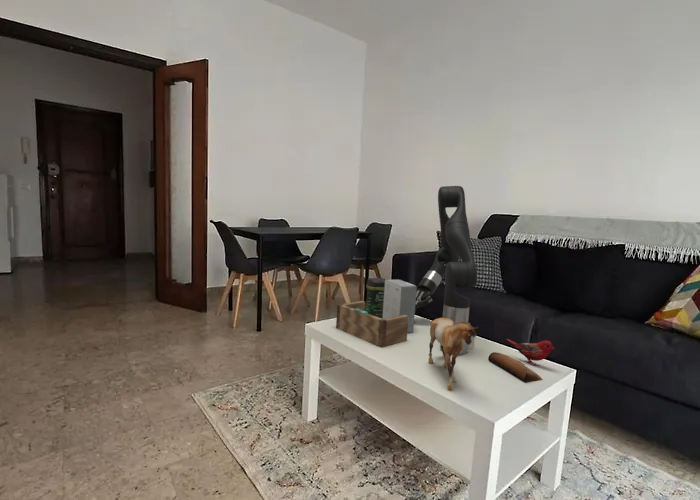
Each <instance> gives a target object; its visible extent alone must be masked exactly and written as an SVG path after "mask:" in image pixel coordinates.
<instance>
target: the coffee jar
mask: <svg viewBox="0 0 700 500" xmlns="http://www.w3.org/2000/svg"><path fill="white" fill-rule="evenodd" d="M385 280H387V279H386V278H385V277H384V278H383V277H369V278H367V280H366V285H365V286H366V287H365V288H366V291H367V292H366V301H365V311H366V312H368V314H370V315H373V316H376V317H379V318H381V319H382V317H383V301H384V287H385Z"/></svg>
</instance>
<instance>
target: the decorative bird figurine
mask: <svg viewBox="0 0 700 500" xmlns="http://www.w3.org/2000/svg"><path fill="white" fill-rule="evenodd" d="M505 340H506V341H507V342H508V343H510V344H511V345H513V347H515V348H516V349H517V351H518V352H519V354H521V355H522V356H524V357H525V358H526V361H525V362H526V363H528V364H531V365H533V366H538V367H540V364H537V363H536V362H535V361H537V362H538V361H543V360H544V359H546V358H547V357H548V355H549V354H550V353H551V351H552V350H555V347H554V346H553V343H552V341H550V340H541V341H539V342H535V343H534V342H533V343H532V342H523V343H517V342H515V341H512V340H510V339H508V338H505ZM533 361H534V362H533Z"/></svg>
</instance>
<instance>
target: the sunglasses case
mask: <svg viewBox="0 0 700 500" xmlns="http://www.w3.org/2000/svg"><path fill="white" fill-rule="evenodd" d="M487 359H488V362H489V361H490V362H491V363H494V364H496V365H497V366H500V367H501V368H503V369H505V370H506V371H508V372H510V373H511V374H513V375H514V376H516V377H517V378H519V379H521V380H522V381H524V382H525V383H533V382H540V381H544V379H543V378H542V377H541V376H540V375H539V373H538V374H537V373H536V372H535V371H533V370H532V369H530V368H529V367H528V366H526V365H525V363H524V362H521V361H520V360H519V359H516V358H514V357H511V356H509V355H507V354H504V353H501V352H495V351H494V352H493V351H492V352H491V353H490V354H489V356H488V358H487Z"/></svg>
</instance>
